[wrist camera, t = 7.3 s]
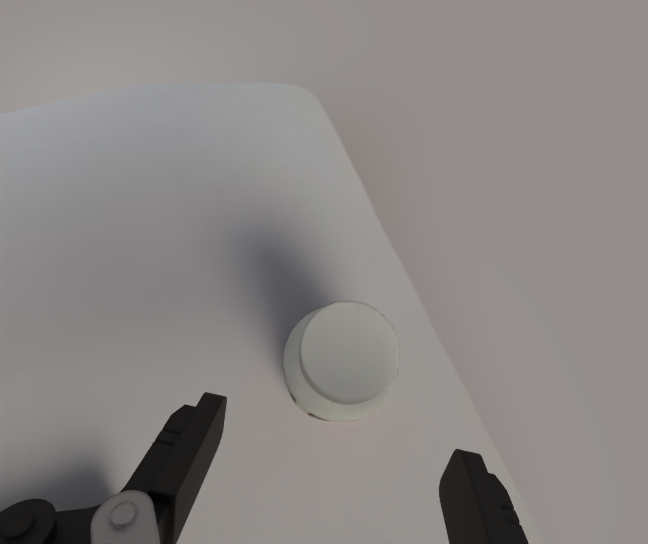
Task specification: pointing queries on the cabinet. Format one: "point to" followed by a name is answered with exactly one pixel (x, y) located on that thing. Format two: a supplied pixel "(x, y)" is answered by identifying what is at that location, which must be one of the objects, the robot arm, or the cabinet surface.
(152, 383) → the cabinet surface
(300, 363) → the pill bottle
